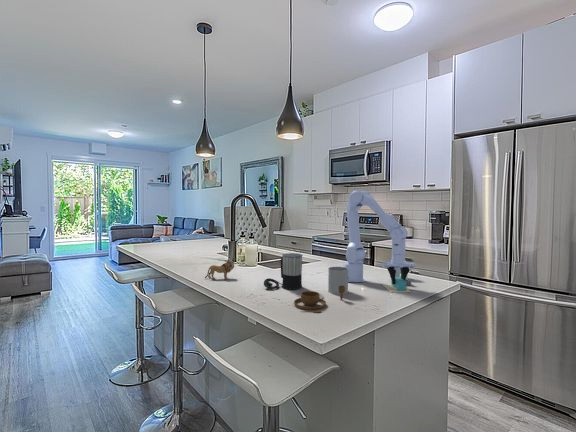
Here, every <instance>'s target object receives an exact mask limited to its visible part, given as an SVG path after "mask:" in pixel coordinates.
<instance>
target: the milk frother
mask: <svg viewBox="0 0 576 432" xmlns="http://www.w3.org/2000/svg"><path fill="white" fill-rule="evenodd" d="M302 271H303V254H301V253H296V252H295V253H294V252H293V253H291V252H290V253H289V252H287V253H283V254H282V256H281V258H280V276H281V277H280V278H282V283H281V282H279V281H278V280H276V279H274V278H266V279H264V281H263V286H264V287H265V288H267V289H268V288H269V289H268V290H270V289H271V290H275V289H279V287H280V285H281V288H282V289H285V290H291V289H294V290H300V289H302V288H303V283H302V282H303V281H302V280H303V279H302V275H303V274H302V273H303V272H302ZM273 284H275V285H274V286H273Z"/></svg>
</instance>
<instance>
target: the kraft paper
mask: <svg viewBox="0 0 576 432" xmlns="http://www.w3.org/2000/svg"><path fill="white" fill-rule="evenodd" d="M382 286H383V287H384V288H385V289H386V290H388V291H389V292H390V293H412V291H411V290H410V289H408V288H407V287H406V291H398V290H397V289H395V288H394V287H393V286H391V284H382Z"/></svg>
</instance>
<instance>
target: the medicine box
mask: <svg viewBox="0 0 576 432" xmlns="http://www.w3.org/2000/svg"><path fill="white" fill-rule="evenodd" d="M389 263H392V260H390V261H389ZM405 263H408V262H407V261H406V260H405ZM394 269H395V270H396V274H395V277H400V274H401V270H400V268H394ZM389 277H390V279H391V276H390V275H389Z"/></svg>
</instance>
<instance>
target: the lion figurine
mask: <svg viewBox="0 0 576 432" xmlns="http://www.w3.org/2000/svg"><path fill="white" fill-rule="evenodd" d="M234 268H235V261H233V260H232V259H230V260H227V261H226V262H224V263H223V264H221V265H216V264H212V265H210V266H209V268H208V270H207V274H206V275H205V277H204V278H205V279H207V278H209V279H210V278H211V279H212V280H216V277H214V274H215V273H218V274H223V277H224V279H225V280H228V279H229V278H228V273H231V272H232V270H234Z"/></svg>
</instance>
